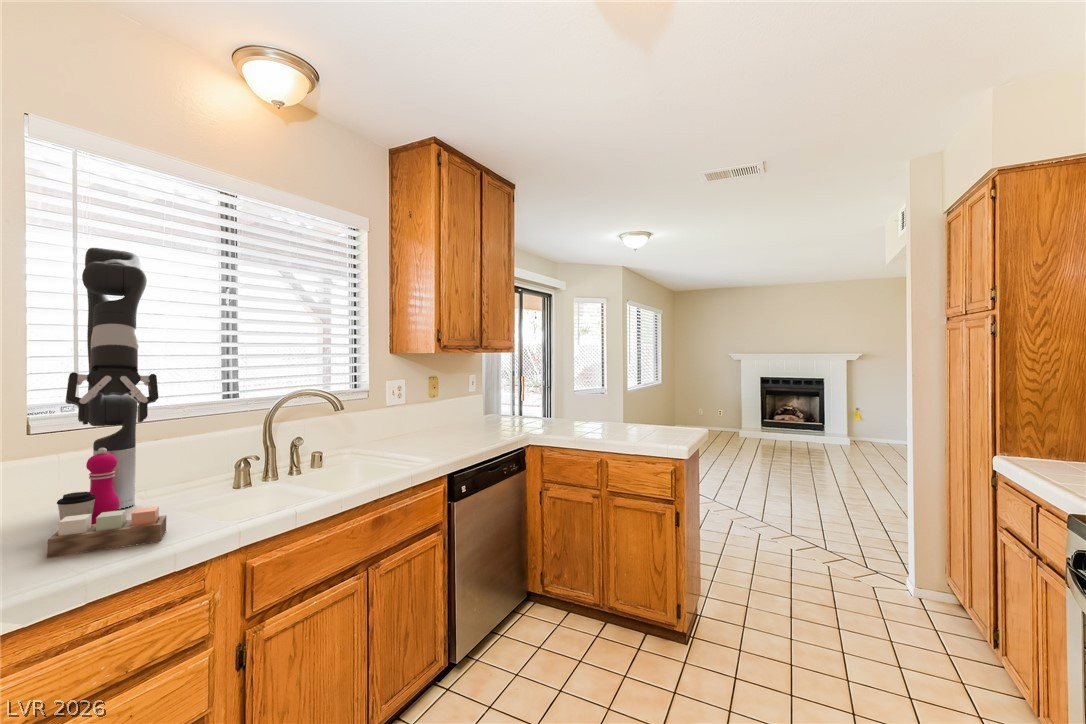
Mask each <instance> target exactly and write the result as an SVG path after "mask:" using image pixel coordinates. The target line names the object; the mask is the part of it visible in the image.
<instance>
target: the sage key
mask: <svg viewBox="0 0 1086 724" xmlns="http://www.w3.org/2000/svg"><path fill="white" fill-rule="evenodd" d="M126 520H127V509H119V510H116V511H111V512H102V513H101V514H100V515H99V516H98V517H97V518H96V531H102V530H109V529H117V528H123V527H124V526H125V524H126Z"/></svg>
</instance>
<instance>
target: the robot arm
mask: <svg viewBox="0 0 1086 724" xmlns="http://www.w3.org/2000/svg"><path fill="white" fill-rule="evenodd" d="M86 250H87V251H86V252H85V258H84V269H83V270H82V274H81V275H82V279H81V280H82V283H83V286H84V287H85V289H86V294H87V309H88V310H87V334H86V335H87V337H86V338H87V343H86V344H87V356H88V357H87V358H88V359H87V360H88V374H82V373H81V374H80V373H77V372H70V373H69V375H68V379H67V386H66V395H65V403H66V404H67V405H74V406H77V408H78V410H77V411H78V412H77V413H78V414H77V420H78V422H80V423H82V425H83V426H84V425H85V426H86V425H88V424H89V426H92V427H106V426H107V427H109V426H110V427H111V426H121V428H120V429H119V430H117V431H116V432H114V433H112V434H109V435H106V436H104V437H100V438H98V439H95V440H94V441H93V444H92V445H93V446H92V447H93V448H92V450H93V451H92V452H93V453H92V454H93V455H92V456H94V455H96V454H99V453H98V450H99V449H100V448H106V449H107V452H106V453H108V454H112V455H114V456H115V457H116V458H117V466H116V467H115V468H114V469H113V471H115V472H114V475H115V476H113V478H112V485H113V489H114V491H115V493H116V495H117V496H118V499H119V502H120V506H119V508H118V509H119V510H122V509H121V508H124V509H126V508H125V507H128V508H130V507H129V506H131V507H133V506H134V505H135V503H136V449H137V447H136V445H137V443H136V439H137V437H136V433H137V432H136V429H137V428H136V427H137V423H143V422H144V420H146V419H147V417H148V412H149V411H148V408H149V407H148V405H149V404H151V403H153V404H154V403H156V401H157V400H158V399H159V390H158V389H159V388H158V379H157V376H158V375H157V374H155V373H151V374H149V375H140V373H139V370H138V369H139V367H138V366H139V363H138V362H139V361H138V357H139V356H138V355H139V353H138V351H139V350H138V349H139V342H138V341H139V339H138V334H137V312H138V307H139V304H140V300H141V299H142V297H143V294H144V292H145V289H146V285H147V281H148V280H147V279H148V278H147V276H146V273H145V272H144V271H143V270H142V269H141V261H140V258H139V256H138V255H137V254H135V253H134V252H130V251H126V250H118V249H110V248H101V247H90V248H88V249H86ZM107 296H113V297H115V296H116V297H121V298H120V299H119V298H118V299H114V300H110V299H109V298H108V297H107ZM84 381H87V384H88V385H87V393H85V394H84V395H83V396H81V397H80V396H76V395H77V394H76V393H77V387H78V386H80V385H82V384H83V383H84ZM140 382H142V383H143V385H145V386H147V389H148V396H145V394H143V392H141V390H140V389H139V388H138V387H137V385H138V384H139V383H140ZM90 489H91V479H89V490H90ZM132 505H133V506H132Z"/></svg>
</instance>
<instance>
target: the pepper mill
mask: <svg viewBox="0 0 1086 724" xmlns="http://www.w3.org/2000/svg"><path fill="white" fill-rule="evenodd" d="M106 452H107V449H106V448H100V449H99V450H98V453H99V454H96V455H94V456H93V455H92V456H91V457H89V458H88V459H87V461H86V463H85V464H86V466H85V467H86V469H87V471H89V472H90V473H89V474H88V476H89V477H88V479H89V480H90V479H91V489H90V488H89V492H90V494H91V495H95V497H96V499H95V501H94V507H93V513H92V519H91V524H96V518H97V517H98V516H99V515H100V514H101V513H102V512H111V511H118V510H117V509H118V508H119V506H120V502H119V499H118V496H117V495H116V493H115V491H114V489H113V485H112V478H113V476H115V475H114V472H115V471H113V469H114V468H115V467H116V466H117V458H116V457H115V456H114V455H112V454H108V453H106Z"/></svg>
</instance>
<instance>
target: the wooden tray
mask: <svg viewBox="0 0 1086 724" xmlns="http://www.w3.org/2000/svg"><path fill="white" fill-rule="evenodd" d="M165 531H166V532H167V515H166V514H165V515H159V520H158V522H157V523H156V524H155V523H150V524H142V525H134V526H131V519H126V524H125V526H124V527H123V528H117V529H109V530H102V531H96V524H91V529H90V530H89V531H88V532H86V533H78V534H71V535H63V536H59V529H58V530H57V531H55V532H54V533H53V534H52V535H51V536H49V537H48V538H47V539H46V540H47V541H46V558H56V557H61V556H62V557H63V556H69V555H75V554H81V553H89V552H97V551H104V550H110V548H111V549H117V547H118V548H123V547H122V546H125V547H130V546H129V545H132V546H137V545H136V544H139V545H143V544H142V543H146V544H151V542H153V543H158V541H160V542H161V541H162V539H163V538H164V536H163V535H165V534H166V532H165ZM164 533H165V534H164ZM162 537H163V538H162Z"/></svg>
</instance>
